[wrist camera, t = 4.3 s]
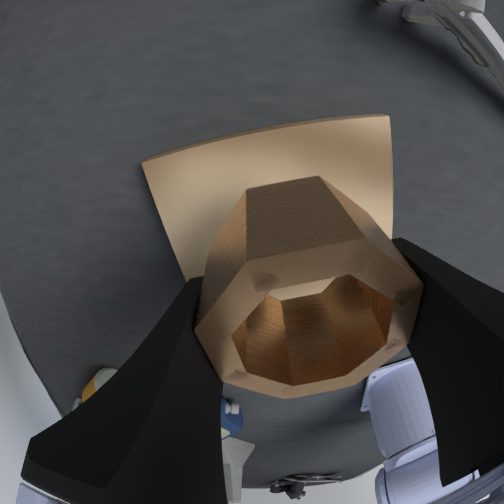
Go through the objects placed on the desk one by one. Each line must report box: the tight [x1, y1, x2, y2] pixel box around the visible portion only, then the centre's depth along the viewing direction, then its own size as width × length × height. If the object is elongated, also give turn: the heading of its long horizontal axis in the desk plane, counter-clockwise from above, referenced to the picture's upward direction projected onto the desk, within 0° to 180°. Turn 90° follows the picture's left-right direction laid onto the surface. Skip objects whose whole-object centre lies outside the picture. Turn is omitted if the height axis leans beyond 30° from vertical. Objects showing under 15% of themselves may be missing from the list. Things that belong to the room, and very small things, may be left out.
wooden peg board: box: [142, 113, 393, 300], centre depth 15 cm, size 16×12×5 cm
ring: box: [194, 176, 424, 399], centre depth 8 cm, size 6×6×4 cm
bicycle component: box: [270, 475, 342, 499], centre depth 49 cm, size 12×7×15 cm
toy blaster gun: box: [72, 367, 243, 444], centre depth 26 cm, size 21×4×15 cm
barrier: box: [222, 437, 255, 503], centre depth 33 cm, size 28×7×10 cm, turn 134°
